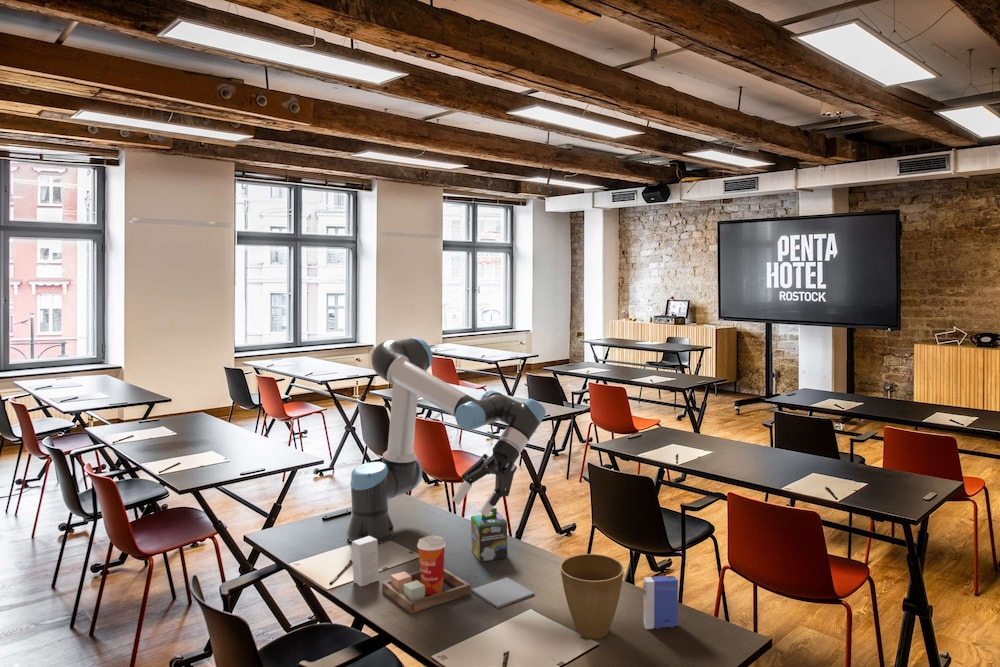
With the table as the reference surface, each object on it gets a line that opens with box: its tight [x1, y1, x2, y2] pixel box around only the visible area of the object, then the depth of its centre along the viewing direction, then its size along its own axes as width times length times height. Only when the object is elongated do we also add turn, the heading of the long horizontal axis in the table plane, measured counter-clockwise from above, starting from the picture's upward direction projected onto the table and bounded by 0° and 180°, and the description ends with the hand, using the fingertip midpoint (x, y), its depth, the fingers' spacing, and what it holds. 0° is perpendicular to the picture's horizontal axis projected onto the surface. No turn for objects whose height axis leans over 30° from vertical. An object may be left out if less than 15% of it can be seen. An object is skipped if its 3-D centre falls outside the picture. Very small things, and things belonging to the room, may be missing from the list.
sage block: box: [404, 580, 426, 602], centre depth 180 cm, size 4×4×5 cm
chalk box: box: [470, 507, 509, 563], centre depth 210 cm, size 9×9×15 cm
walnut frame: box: [381, 567, 471, 615], centre depth 186 cm, size 16×18×2 cm
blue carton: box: [642, 574, 679, 630], centre depth 167 cm, size 8×3×12 cm, turn 96°
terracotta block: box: [390, 570, 412, 595], centre depth 186 cm, size 4×4×5 cm
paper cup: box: [416, 535, 447, 596], centre depth 187 cm, size 8×8×14 cm
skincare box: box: [351, 536, 380, 588], centre depth 193 cm, size 6×4×12 cm
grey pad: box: [470, 577, 535, 609], centre depth 185 cm, size 12×12×1 cm
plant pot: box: [559, 553, 625, 640], centre depth 164 cm, size 15×15×16 cm
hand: (468, 508), depth 194 cm, fingers open, 13 cm apart
